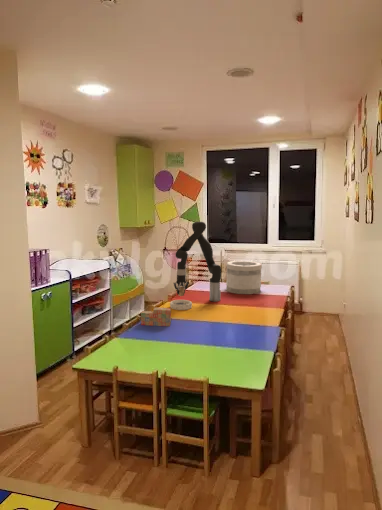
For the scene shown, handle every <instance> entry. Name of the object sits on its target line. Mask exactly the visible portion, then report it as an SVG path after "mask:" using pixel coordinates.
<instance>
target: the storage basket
mask: <svg viewBox="0 0 382 510" xmlns="http://www.w3.org/2000/svg"><path fill="white" fill-rule="evenodd" d="M262 265H263V264H262V263H261V262H258V261H251V260H233V261H232V260H231V261H228V262H226V275H225V276H226V284H225V285H226V287H225V288H226V292H229V293H232V294H237V295H252V294H253V293H255V294H258V293H260V292H261V287H262V268H263V267H262Z"/></svg>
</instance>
